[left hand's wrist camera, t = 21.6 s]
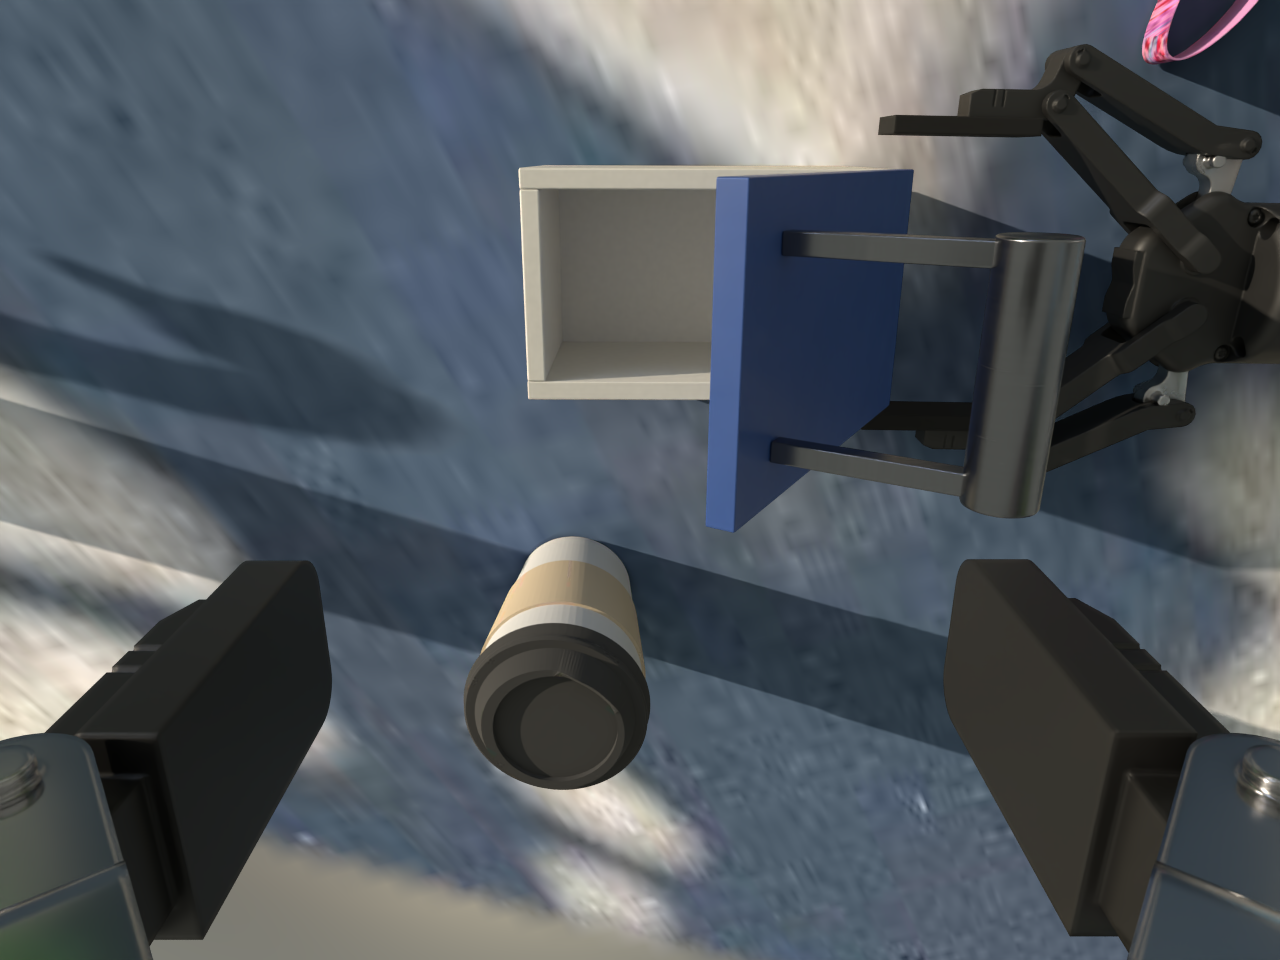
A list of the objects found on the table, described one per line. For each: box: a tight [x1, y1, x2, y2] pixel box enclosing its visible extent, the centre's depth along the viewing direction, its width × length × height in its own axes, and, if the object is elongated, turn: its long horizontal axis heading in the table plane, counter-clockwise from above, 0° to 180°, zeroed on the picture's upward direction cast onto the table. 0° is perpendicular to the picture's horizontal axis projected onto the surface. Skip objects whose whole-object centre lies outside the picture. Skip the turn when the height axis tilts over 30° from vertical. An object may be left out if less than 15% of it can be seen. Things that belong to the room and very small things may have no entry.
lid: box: [706, 169, 1086, 533], centre depth 29 cm, size 17×10×9 cm
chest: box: [519, 165, 886, 400], centre depth 43 cm, size 16×10×10 cm, turn 90°
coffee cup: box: [464, 537, 650, 790], centre depth 47 cm, size 9×9×15 cm
